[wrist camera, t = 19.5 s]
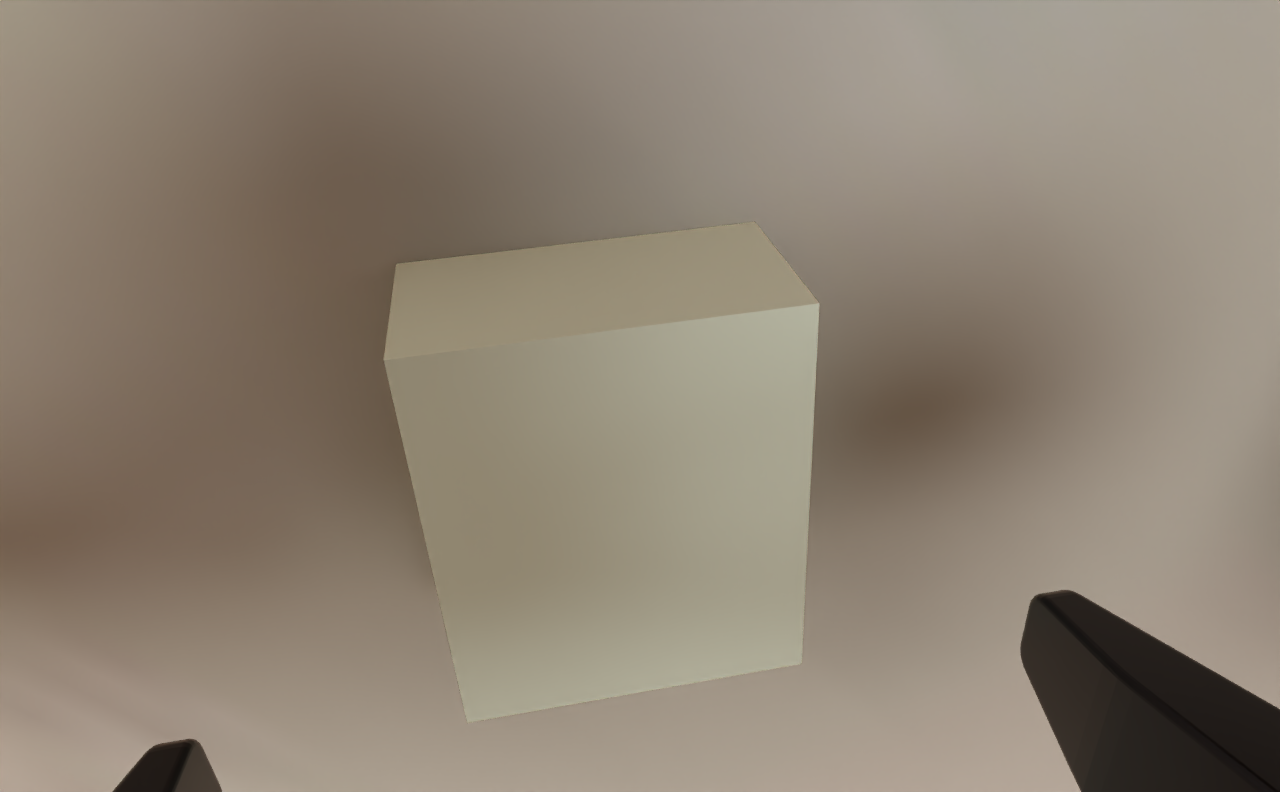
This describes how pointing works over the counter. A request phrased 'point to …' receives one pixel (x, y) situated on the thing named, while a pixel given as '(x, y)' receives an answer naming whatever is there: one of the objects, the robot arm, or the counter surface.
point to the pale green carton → (609, 460)
